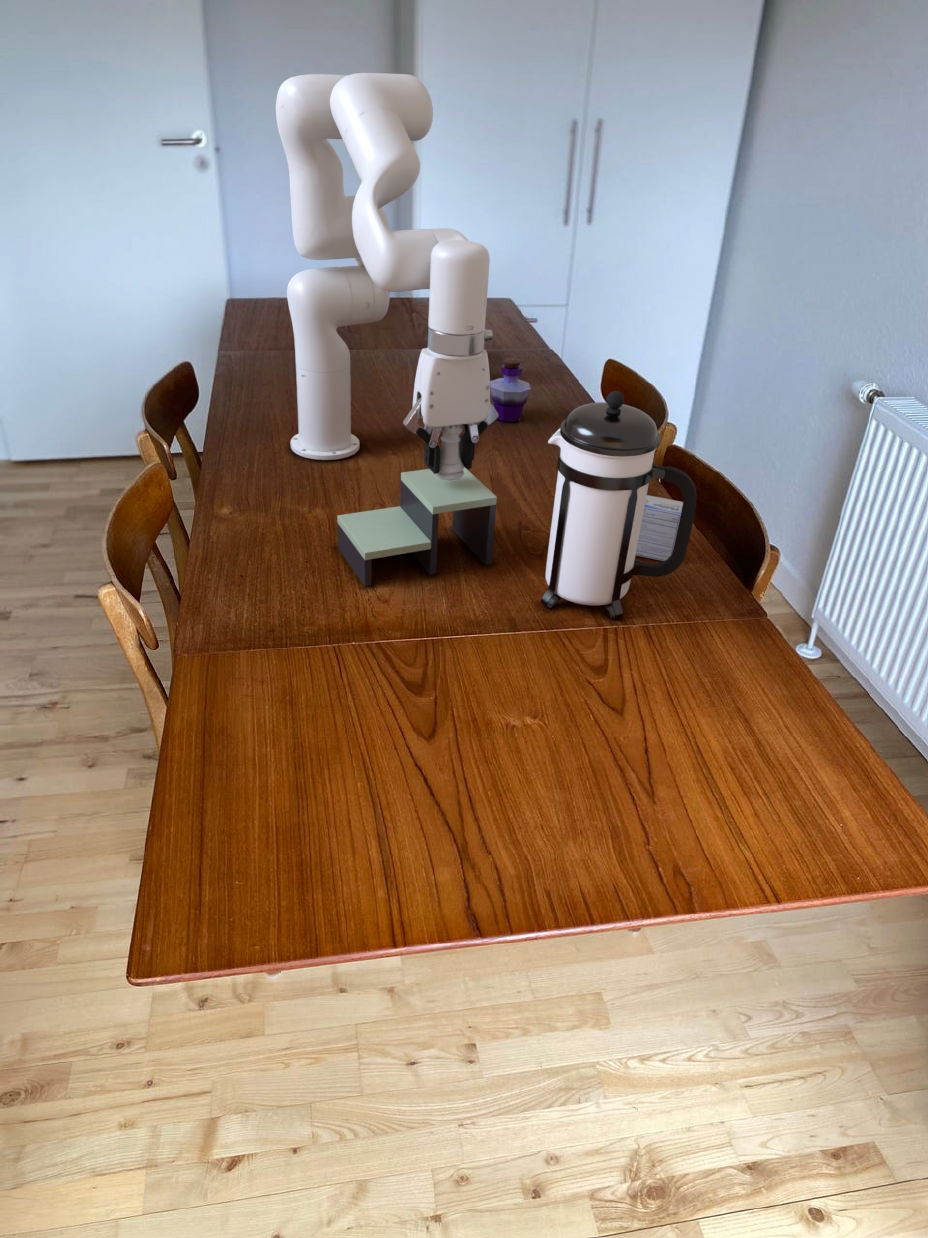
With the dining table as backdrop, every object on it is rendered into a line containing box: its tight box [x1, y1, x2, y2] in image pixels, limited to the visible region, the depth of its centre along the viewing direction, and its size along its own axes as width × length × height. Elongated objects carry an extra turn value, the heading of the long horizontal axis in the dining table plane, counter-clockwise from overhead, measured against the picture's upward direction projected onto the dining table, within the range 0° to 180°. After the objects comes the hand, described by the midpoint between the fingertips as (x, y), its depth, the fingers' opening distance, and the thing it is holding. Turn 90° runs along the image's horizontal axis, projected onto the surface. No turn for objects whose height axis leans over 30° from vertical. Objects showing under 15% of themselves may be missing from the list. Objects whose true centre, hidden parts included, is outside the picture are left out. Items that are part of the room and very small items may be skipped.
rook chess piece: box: [435, 425, 464, 481], centre depth 132 cm, size 4×4×8 cm
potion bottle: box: [490, 357, 532, 424], centre depth 186 cm, size 9×9×12 cm
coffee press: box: [540, 390, 697, 621], centre depth 124 cm, size 17×16×30 cm
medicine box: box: [635, 494, 683, 562], centre depth 142 cm, size 8×4×9 cm, turn 71°
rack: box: [336, 467, 498, 588], centre depth 136 cm, size 12×20×11 cm, turn 115°
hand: (448, 466), depth 133 cm, fingers closed on rook chess piece, 4 cm apart
